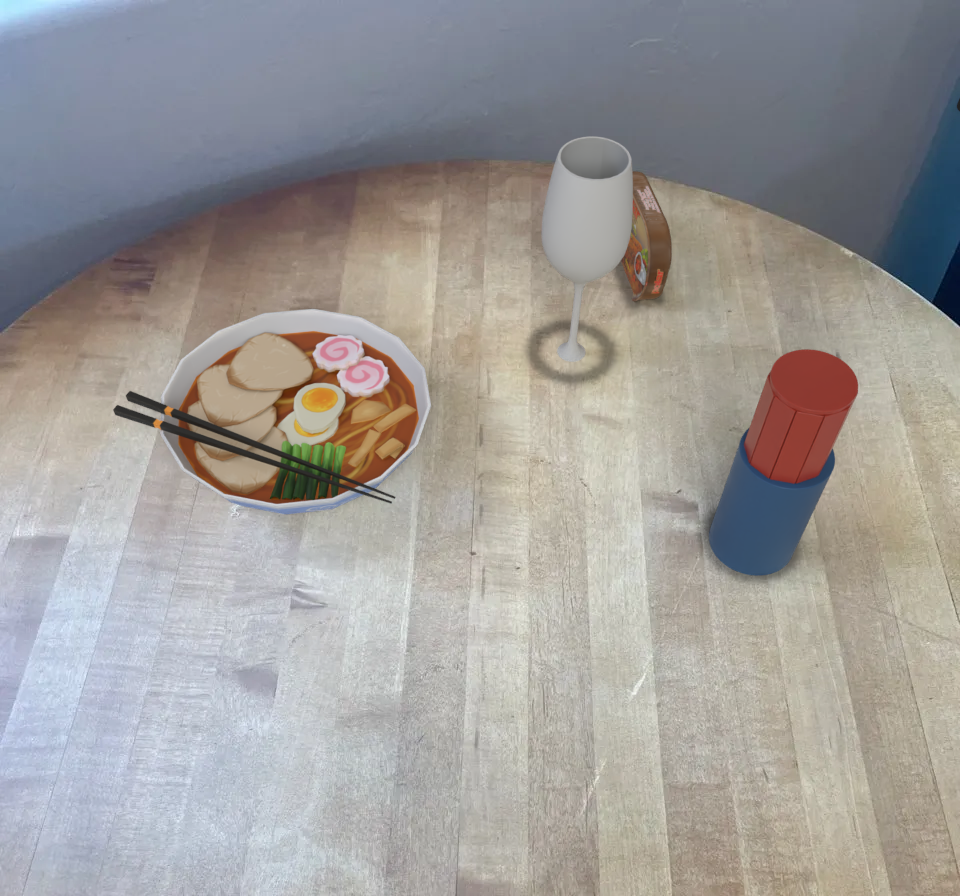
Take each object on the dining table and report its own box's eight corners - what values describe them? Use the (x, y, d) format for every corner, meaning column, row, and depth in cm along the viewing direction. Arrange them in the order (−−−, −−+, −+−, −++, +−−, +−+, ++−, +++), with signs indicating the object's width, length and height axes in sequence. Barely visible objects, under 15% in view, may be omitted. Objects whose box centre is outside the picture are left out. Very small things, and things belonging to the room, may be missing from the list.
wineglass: (521, 375, 96) (535, 175, 78) (544, 324, 100) (562, 122, 82) (597, 394, 95) (628, 196, 77) (617, 342, 98) (652, 141, 80)
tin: (598, 225, 108) (608, 153, 101) (626, 223, 108) (638, 150, 101) (634, 319, 100) (648, 248, 93) (664, 316, 100) (680, 244, 93)
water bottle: (803, 536, 86) (878, 380, 71) (771, 595, 83) (842, 445, 67) (727, 502, 88) (783, 342, 72) (692, 558, 85) (744, 404, 69)
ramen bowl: (485, 418, 93) (487, 351, 86) (370, 603, 82) (361, 544, 75) (255, 338, 98) (239, 268, 91) (117, 502, 87) (87, 437, 80)
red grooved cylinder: (837, 441, 76) (871, 368, 70) (807, 495, 73) (839, 424, 67) (764, 411, 77) (791, 336, 71) (731, 462, 75) (756, 390, 68)
